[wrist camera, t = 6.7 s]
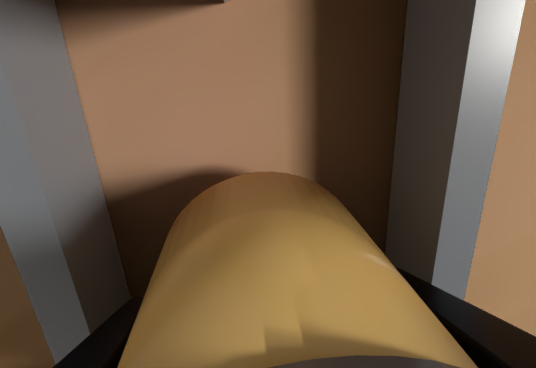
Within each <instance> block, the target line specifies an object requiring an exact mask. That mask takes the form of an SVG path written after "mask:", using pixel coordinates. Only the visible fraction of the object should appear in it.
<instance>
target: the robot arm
mask: <svg viewBox="0 0 536 368" xmlns="http://www.w3.org/2000/svg"><path fill="white" fill-rule="evenodd" d="M395 268H396V269H397V270H398V272H399V273H400V274H401V275H402V276H403V278H404V279H405V280H406V281H407V282H408V284H409V285H410V286H411V287H412V288H413V290H414V291H415V292H416V293H417V294H418V296H419V297H420V298H421V299H422V300H423V302H424V303H425V304H426V305H427V306H428V308H429V309H430V310H431V311H432V313H433V314H434V315H435V316H436V317H437V319H438V320H439V321H440V322H441V323H442V325H443V326H444V327H445V328H446V329H447V331H448V332H449V333H450V334H451V335H452V337H453V338H454V339H455V340H456V341H457V343H458V344H459V345H460V346H461V347H462V349H463V350H464V351H465V352H466V354H467V355H468V356H469V357H470V358H471V360H472V361H473V362H474V363H475V364H476V366H477V367H478V368H536V337H535V336H533V335H531V334H529V333H527V332H525V331H523V330H521V329H519V328H517V327H515V326H513V325H511V324H509V323H507V322H506V321H504V320H502V319H500V318H498V317H496V316H494V315H492V314H490V313H488V312H486V311H484V310H482V309H480V308H478V307H476V306H474V305H472V304H470V303H468V302H466V301H464V300H462V299H460V298H458V297H456V296H454V295H452V294H450V293H448V292H446V291H444V290H442V289H440V288H438V287H436V286H434V285H432V284H430V283H428V282H426V281H424V280H422V279H420V278H418V277H416V276H414V275H412V274H410V273H408V272H406V271H404V270H402V269H400V268H397V267H395ZM143 299H144V297H136V298H131V299H129V300H128V301H127V302H126V303H125V304H124V305H122V306H121V307H120V308H119V309H118V310H117V311H116V312H115V313H113V314H112V315H111V316H110V317H109V318H108V319H107V320H106V321H104V322H103V323H102V324H101V325H100V326H99V327H98V328H96V329H95V330H94V331H93V332H92V333H91V334H90V335H89V336H87V337H86V338H85V339H84V340H83V341H82V342H81V343H80V344H78V345H77V346H76V347H75V348H74V349H73V350H72V351H71V352H69V353H68V354H67V355H66V356H65V357H64V358H63V359H62V360H60V361H59V362H58V363H57V364H56V365H55V366H54V367H52V368H117V367H118V364H119V362H120V359H121V357H122V354H123V351H124V349H125V346H126V343H127V341H128V338H129V335H130V333H131V330H132V328H133V325H134V322H135V320H136V317H137V314H138V312H139V309H140V306H141V304H142V301H143Z"/></svg>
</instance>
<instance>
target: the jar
mask: <svg viewBox="0 0 536 368" xmlns="http://www.w3.org/2000/svg"><path fill="white" fill-rule="evenodd" d="M117 368H478V367H477V366H476V364H475V363H474V362H473V361H472V360H471V358H470V357H469V356H468V355H467V354H466V352H465V351H464V350H463V349H462V347H461V346H460V345H459V344H458V343H457V341H456V340H455V339H454V338H453V337H452V335H451V334H450V333H449V332H448V331H447V329H446V328H445V327H444V326H443V325H442V323H441V322H440V321H439V320H438V319H437V317H436V316H435V315H434V314H433V313H432V311H431V310H430V309H429V308H428V306H427V305H426V304H425V303H424V302H423V300H422V299H421V298H420V297H419V296H418V294H417V293H416V292H415V291H414V290H413V288H412V287H411V286H410V285H409V284H408V282H407V281H406V280H405V279H404V278H403V276H402V275H401V274H400V273H399V272H398V270H397V269H396V268H395V267H394V265H393V264H392V263H391V262H390V261H389V259H388V258H387V257H386V256H385V255H384V253H383V252H382V251H381V250H380V249H379V247H378V246H377V245H376V244H375V243H374V241H373V240H372V239H371V238H370V237H369V235H368V234H367V233H366V232H365V231H364V229H363V228H362V227H361V226H360V224H359V223H358V222H357V221H356V220H355V218H354V217H353V216H352V215H351V214H350V212H349V211H348V210H347V209H346V208H345V206H344V205H343V204H342V203H341V202H340V201H339V200H338V199H337V198H336V197H335V196H334V195H333V194H332V193H330V192H329V191H328V190H326V189H325V188H324V187H322V186H320V185H318V184H316V183H315V182H313V181H310V180H308V179H305V178H303V177H300V176H296V175H292V174H287V173H279V172H256V173H249V174H243V175H239V176H236V177H232V178H229V179H227V180H224V181H222V182H219V183H217V184H215V185H213V186H212V187H210V188H208V189H206V190H205V191H203V192H202V193H201V194H199V195H198V196H197V197H195V198H194V199H193V200H192V201H191V202H190V203H189V204H188V205H187V206H186V207H185V208H184V209H183V210H182V211H181V213H180V214H179V215H178V217H177V218H176V219H175V221H174V223H173V225H172V227H171V228H170V230H169V233H168V235H167V238H166V241H165V243H164V246H163V249H162V251H161V254H160V256H159V259H158V262H157V264H156V267H155V270H154V272H153V275H152V277H151V280H150V283H149V285H148V288H147V291H146V293H145V296H144V299H143V301H142V304H141V306H140V309H139V312H138V314H137V317H136V320H135V322H134V325H133V328H132V330H131V333H130V335H129V338H128V341H127V343H126V346H125V349H124V351H123V354H122V357H121V359H120V362H119V364H118V367H117Z"/></svg>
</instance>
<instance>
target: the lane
mask: <svg viewBox="0 0 536 368" xmlns="http://www.w3.org/2000/svg"><path fill="white" fill-rule="evenodd" d="M524 5H525V0H408V3H407V14H406V25H405V36H404V47H403V58H402V69H401V80H400V91H399V102H398V114H397V125H396V136H395V147H394V158H393V169H392V180H391V191H390V202H389V213H388V224H387V236H386V247H385V256H386V257H387V258H388V259H389V261H390V262H391V263H392V264H393V265H394V267H397V268H400V269H402V270H404V271H406V272H408V273H410V274H412V275H414V276H416V277H418V278H420V279H422V280H424V281H426V282H428V283H430V284H432V285H434V286H436V287H438V288H440V289H442V290H444V291H446V292H448V293H450V294H452V295H454V296H456V297H458V298H460V299H462V300H464V297H465V292H466V287H467V282H468V277H469V272H470V267H471V263H472V258H473V253H474V248H475V243H476V238H477V233H478V229H479V224H480V219H481V214H482V209H483V204H484V199H485V195H486V190H487V185H488V180H489V175H490V170H491V165H492V161H493V156H494V151H495V146H496V141H497V136H498V131H499V127H500V122H501V117H502V112H503V107H504V102H505V97H506V93H507V88H508V83H509V78H510V73H511V68H512V63H513V59H514V54H515V49H516V44H517V39H518V34H519V29H520V25H521V20H522V15H523V10H524ZM0 226H1V229H2V231H3V234H4V236H5V239H6V241H7V244H8V246H9V249H10V251H11V254H12V256H13V259H14V261H15V264H16V266H17V269H18V271H19V274H20V276H21V279H22V282H23V284H24V287H25V289H26V292H27V294H28V297H29V299H30V302H31V304H32V307H33V309H34V312H35V314H36V317H37V319H38V322H39V324H40V327H41V329H42V332H43V334H44V337H45V339H46V342H47V344H48V347H49V349H50V352H51V354H52V357H53V359H54V362H55V364H57V363H58V362H59V361H60V360H62V359H63V358H64V357H65V356H66V355H67V354H68V353H69V352H71V351H72V350H73V349H74V348H75V347H76V346H77V345H78V344H80V343H81V342H82V341H83V340H84V339H85V338H86V337H87V336H89V335H90V334H91V333H92V332H93V331H94V330H95V329H96V328H98V327H99V326H100V325H101V324H102V323H103V322H104V321H106V320H107V319H108V318H109V317H110V316H111V315H112V314H113V313H115V312H116V311H117V310H118V309H119V308H120V307H121V306H122V305H124V304H125V303H126V302H127V301H128V300H129V299H131V297H130V293H129V289H128V285H127V281H126V277H125V274H124V270H123V266H122V262H121V258H120V254H119V250H118V246H117V242H116V239H115V235H114V231H113V227H112V223H111V219H110V215H109V211H108V207H107V204H106V200H105V196H104V192H103V188H102V184H101V180H100V176H99V172H98V169H97V165H96V161H95V157H94V153H93V149H92V145H91V141H90V137H89V134H88V130H87V126H86V122H85V118H84V114H83V110H82V106H81V102H80V99H79V95H78V91H77V87H76V83H75V79H74V75H73V71H72V67H71V64H70V60H69V56H68V52H67V48H66V44H65V40H64V36H63V32H62V29H61V25H60V21H59V17H58V13H57V9H56V5H55V1H54V0H0Z"/></svg>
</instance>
